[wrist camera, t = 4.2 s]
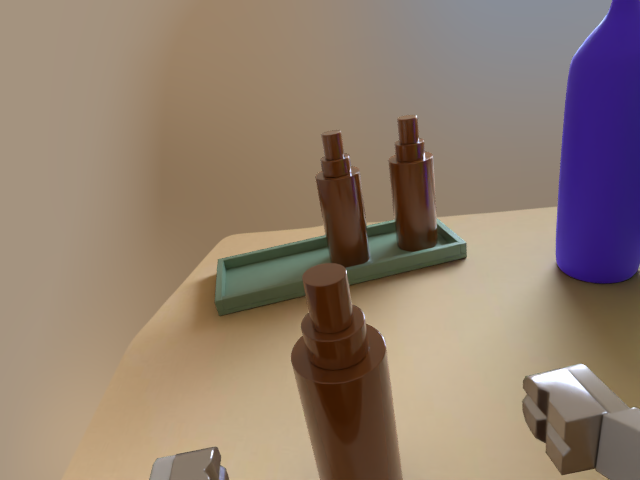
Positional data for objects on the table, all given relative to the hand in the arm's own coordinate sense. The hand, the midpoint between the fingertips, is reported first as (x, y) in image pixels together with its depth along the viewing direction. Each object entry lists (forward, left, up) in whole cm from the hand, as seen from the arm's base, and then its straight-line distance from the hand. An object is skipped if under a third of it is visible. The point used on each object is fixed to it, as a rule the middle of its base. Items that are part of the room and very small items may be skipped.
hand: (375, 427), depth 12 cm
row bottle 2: (+17, +44, -18) cm, 51 cm away
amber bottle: (+1, +12, -19) cm, 23 cm away
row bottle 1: (+8, +44, -18) cm, 48 cm away
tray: (+6, +44, -19) cm, 48 cm away
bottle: (+33, +30, -19) cm, 48 cm away
